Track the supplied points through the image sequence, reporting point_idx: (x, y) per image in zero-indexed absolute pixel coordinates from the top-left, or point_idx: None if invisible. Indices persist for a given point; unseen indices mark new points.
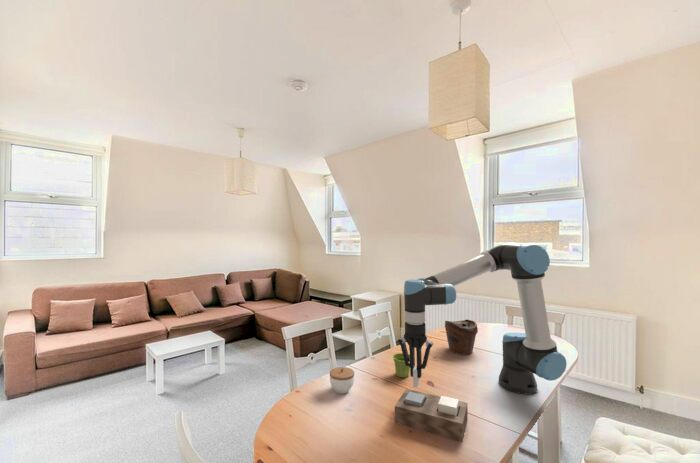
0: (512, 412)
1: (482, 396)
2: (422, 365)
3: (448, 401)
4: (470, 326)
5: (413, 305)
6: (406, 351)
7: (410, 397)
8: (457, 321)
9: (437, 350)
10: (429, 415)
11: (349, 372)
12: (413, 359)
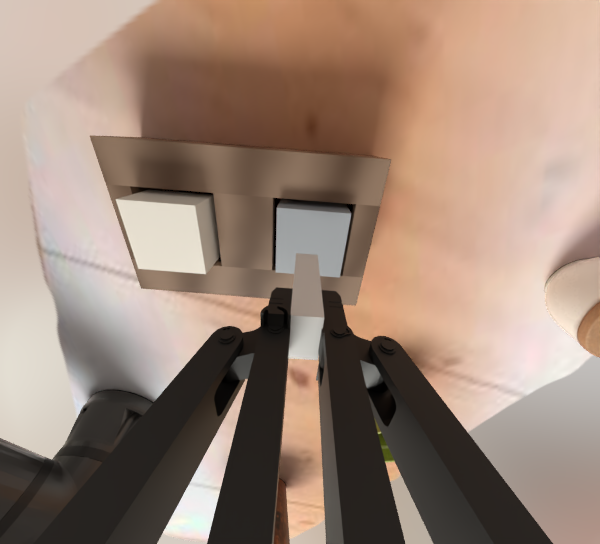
0: (95, 325)
1: (174, 362)
2: (230, 350)
3: (165, 240)
4: None
5: None
6: (442, 518)
7: (328, 235)
8: None
9: (307, 478)
10: (229, 146)
11: None
12: (326, 404)
